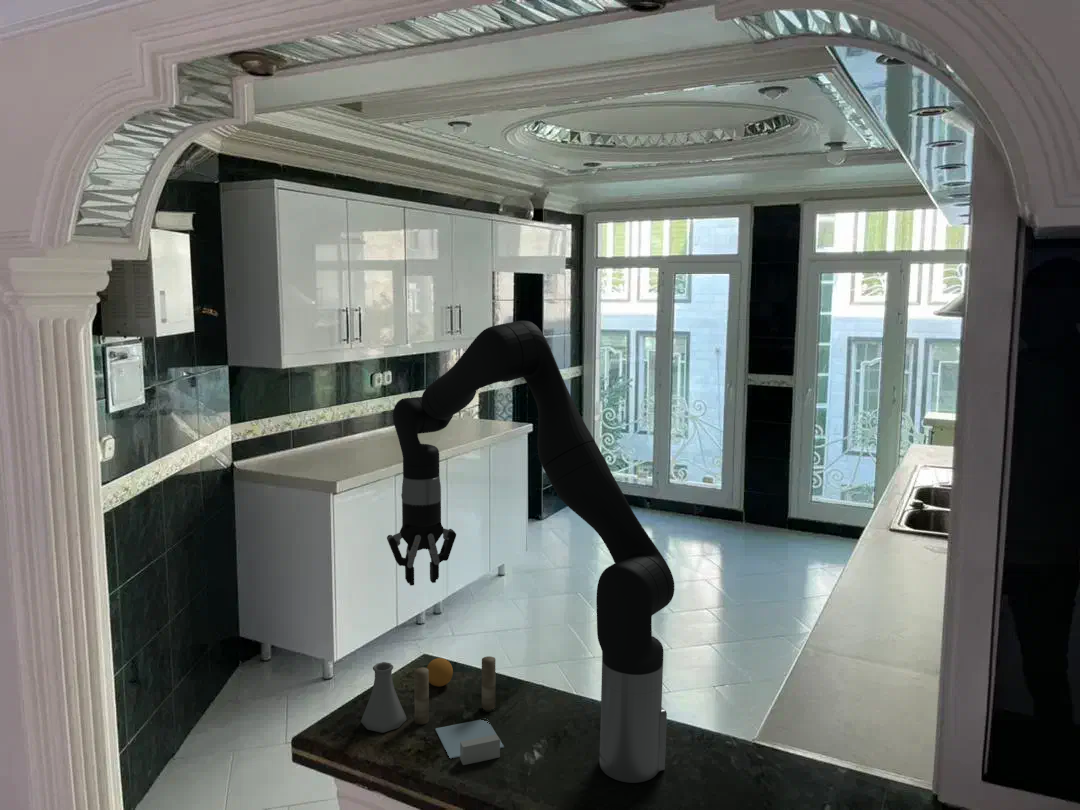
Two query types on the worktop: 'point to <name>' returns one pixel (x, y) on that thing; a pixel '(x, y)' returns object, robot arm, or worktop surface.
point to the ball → (440, 672)
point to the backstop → (479, 749)
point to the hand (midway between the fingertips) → (422, 582)
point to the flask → (383, 702)
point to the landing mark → (463, 735)
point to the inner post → (488, 683)
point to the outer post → (421, 695)
